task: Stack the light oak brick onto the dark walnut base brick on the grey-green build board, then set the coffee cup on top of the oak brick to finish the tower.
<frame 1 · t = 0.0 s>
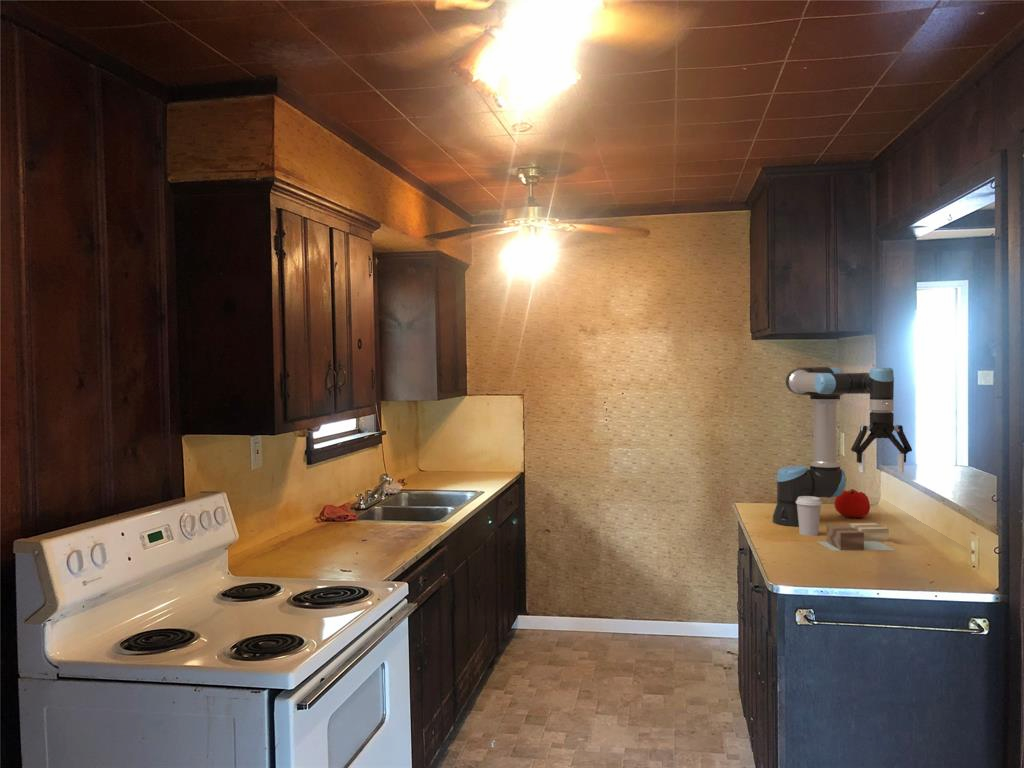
hand: (881, 472, 265), 28 cm above the counter, fingers open, 13 cm apart
walnut base brick: (844, 546, 269), point 1 cm above the counter, touching build board
oak brick: (868, 542, 281), on the counter
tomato: (852, 517, 326), on the counter
coffee cup: (808, 537, 289), on the counter
build board: (855, 549, 269), on the counter
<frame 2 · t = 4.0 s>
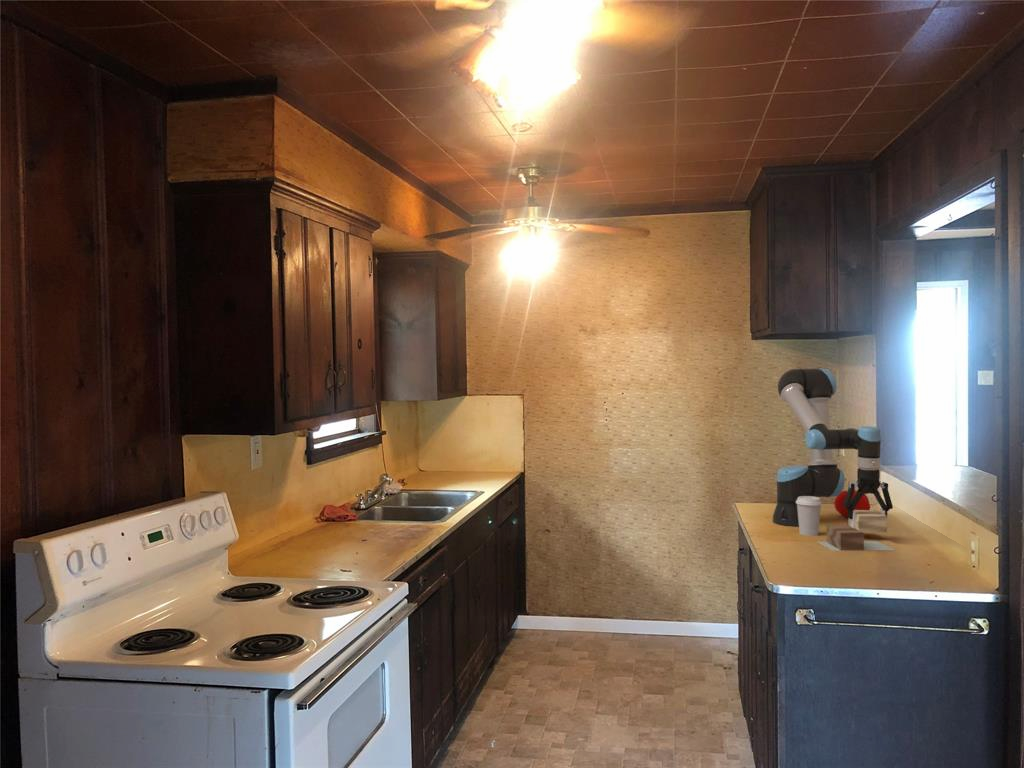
hand: (867, 527, 282), 5 cm above the counter, fingers closed on oak brick, 10 cm apart
oak brick: (867, 528, 282), point 4 cm above the counter, touching gripper
everything else where it was.
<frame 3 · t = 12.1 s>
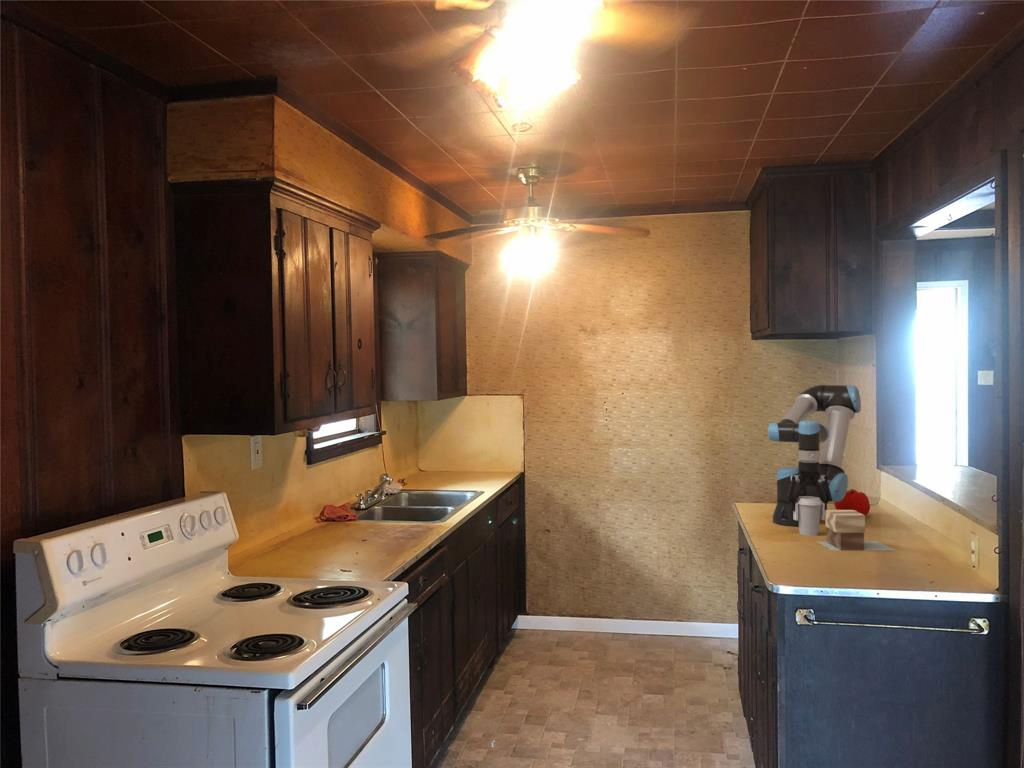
hand: (808, 519, 289), 7 cm above the counter, fingers closed on coffee cup, 9 cm apart
walnut base brick: (844, 546, 269), point 1 cm above the counter, touching build board, oak brick
oak brick: (844, 529, 269), point 7 cm above the counter, touching walnut base brick
coffee cup: (808, 537, 289), on the counter, touching gripper
everything else where it was.
when the fingers open (21 cm above the counter, at t = 18.0 s): coffee cup drops 1 cm, resting on oak brick.
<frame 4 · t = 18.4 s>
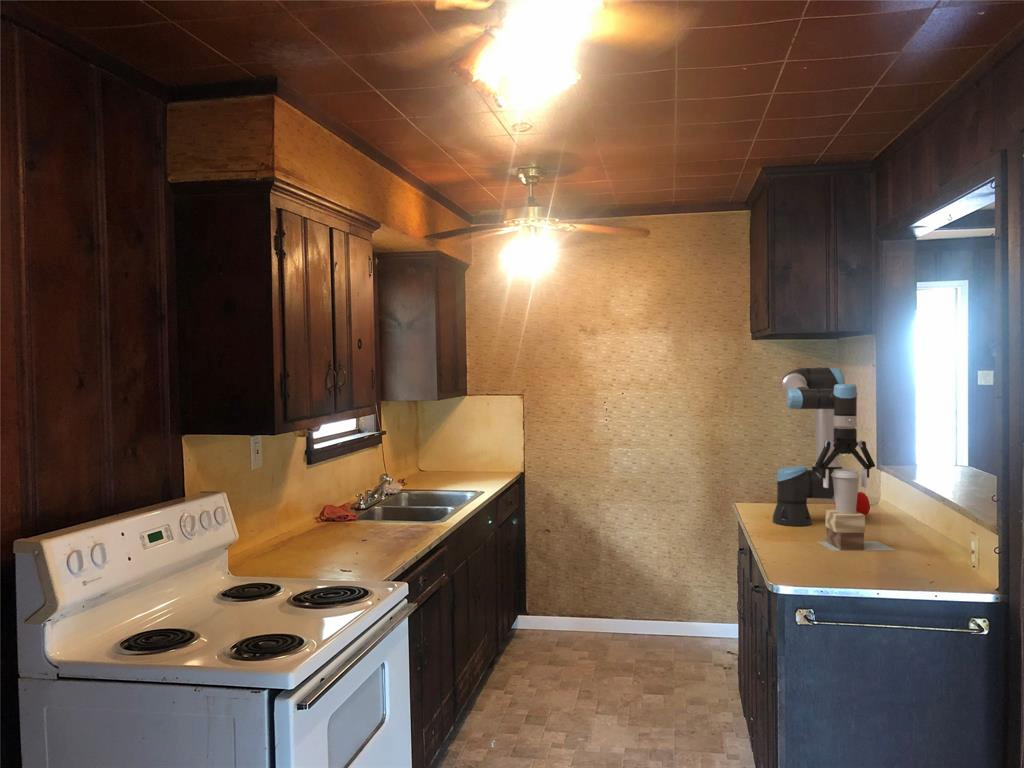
hand: (844, 487, 268), 22 cm above the counter, fingers open, 13 cm apart
oak brick: (844, 529, 269), point 7 cm above the counter, touching coffee cup, walnut base brick
coffee cup: (845, 513, 269), point 13 cm above the counter, touching oak brick
everything else where it was.
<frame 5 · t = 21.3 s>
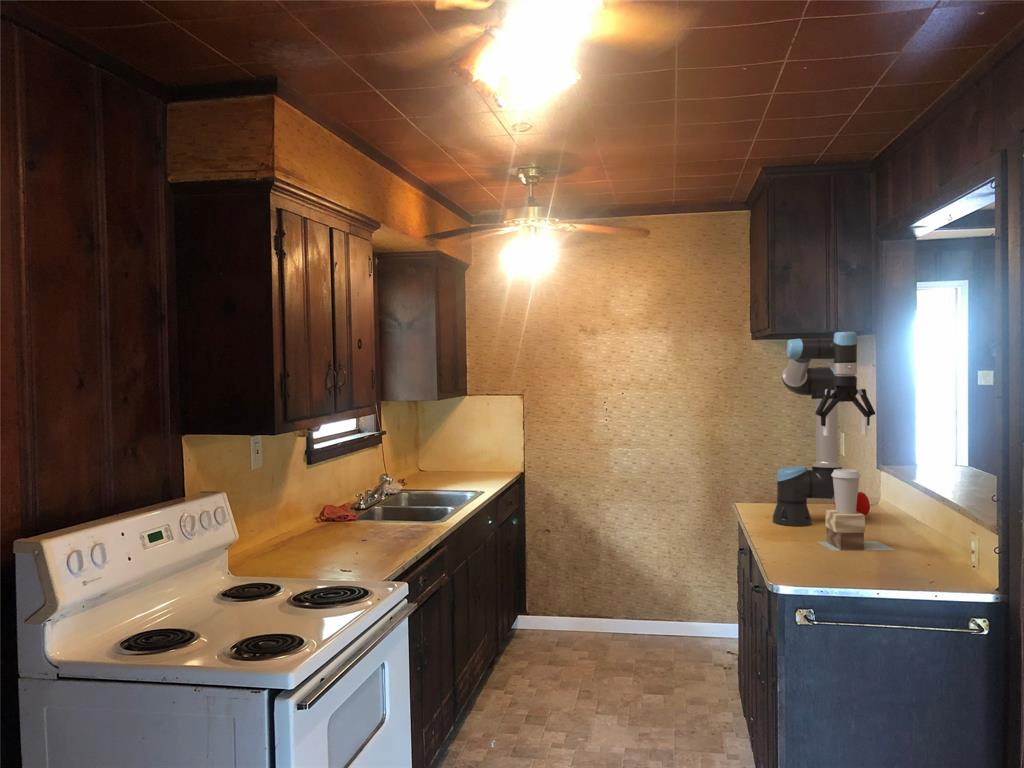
hand: (845, 435, 268), 41 cm above the counter, fingers open, 13 cm apart
nothing on the counter moved.
at the end: oak brick 0.0 cm from the walnut base brick (horizontally); coffee cup inside the target area on the oak brick (0.4 cm from its centre), point 5.8 cm above the oak brick's base; coffee cup tilted 0° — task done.
